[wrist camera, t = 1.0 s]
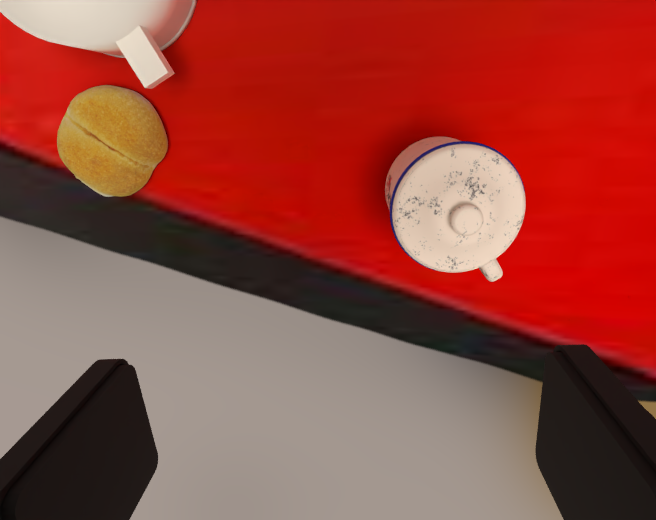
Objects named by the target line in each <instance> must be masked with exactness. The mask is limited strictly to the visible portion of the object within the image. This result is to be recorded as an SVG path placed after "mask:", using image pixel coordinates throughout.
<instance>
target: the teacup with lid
mask: <svg viewBox="0 0 656 520" xmlns="http://www.w3.org/2000/svg"><path fill="white" fill-rule="evenodd" d="M385 197H386V202H387V205H388V208H389V211H390V221H391V226H392V230H393V233H394V236H395V238H396V240H397V242H398V243H399V245H400V246H401V248H402V249H403V250H404V251H405V253H406V254H407V255H408V256H410V257H411V258H412V259H413V260H415V261H416V262H417V263H419V264H421V265H423V266H425V267H427V268H430V269H433V270H437V271H442V272H465V271H470V270H474V269H477V268H479V269H480V270H481V272H482V273H483V274H484V276H485V277H486V278H487V279H488V280H489V281H491V282H493V281H496V280H497V279H499V278H501V277H502V275H503V272H502V269H501V267H500V265H499V263H498V262H497V260H496V258H497V257H498V256H500V255H501V254H502V253H503V252H504V251H505V250H506V249H507V248H508V247H509V246H510V245H511V243H512V242H513V241H514V239H515V237H516V236H517V234H518V232H519V230H520V228H521V225H522V222H523V219H524V214H525V205H526V203H525V191H524V186H523V183H522V180H521V177H520V175H519V173H518V171H517V170H516V168H515V167H514V165H513V164H512V163H511V162H510V161H509V160H508V159H507V158H506V157H505V156H504V155H503V154H501V153H500V152H498V151H497V150H495V149H493V148H491V147H489V146H486V145H484V144H480V143H476V142H469V141H460V140H457V139H454V138H450V137H442V136H438V137H429V138H425V139H422V140H420V141H417V142H415V143H413V144H412V145H410V146H409V147H407V148H406V149H405V150H404V151H402V152H401V153H400V154H399V156H398V157H397V158H396V159H395V161H394V162H393V164H392V166H391V168H390V170H389V172H388V175H387V179H386V184H385Z"/></svg>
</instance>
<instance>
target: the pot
mask: <svg viewBox="0 0 656 520" xmlns="http://www.w3.org/2000/svg"><path fill="white" fill-rule="evenodd" d="M196 4H197V0H0V12H1V13H2V14H3V15H4V16H6V17H7V18H8V19H9V20H10V21H11V22H13V23H14V24H15V25H17V26H18V27H20V28H21V29H23V30H24V31H26V32H28V33H30V34H32V35H34V36H36V37H38V38H40V39H43V40H46V41H48V42H53V43H57V44H61V45H66V46H71V47H76V48H81V49H86V50H91V51H96V52H101V53H104V54H107V55H111V56H115V57H120V58H126V59H127V61H128V62H129V64H130V66H131V67H132V69H133V70H134V72H135V73H136V75H137V76H138V78H139V80H140V81H141V83H142V84H143V86H144V87H145V88H154V87H155V86H157V85H158V84H160V83H161V82H163V81H164V80H166V79H167V78H169V77H170V76H172V75H173V74H175V73H174V71H173V70H172V68H171V67H170V65H169V63H168V62H167V60H166V58H165V57H164V55H163V54H162V52H161V51H163V50H164V49H166V48H168V47H169V46H170V45H172V44H173V43H174V42H175V41H176V40H177V39H178V38H179V37H180V36H181V35H182V33H183V32H184V31H185V29H186V28H187V26H188V24H189V22H190V20H191V18H192V16H193V13H194V11H195V8H196Z"/></svg>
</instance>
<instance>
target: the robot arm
mask: <svg viewBox="0 0 656 520" xmlns="http://www.w3.org/2000/svg"><path fill="white" fill-rule="evenodd" d="M536 459H537V463H538V466H539V469H540V471H541V473H542V475H543V477H544V479H545V481H546V484H547V485H548V488H549V490H550V492H551V494H552V496H553V498H554V500H555V502H556V504H557V506H558V509H559V511H560V513H561V515H562V517H563V519H564V520H656V419H655V418H654V417H653V416H652V415H651V414H650V413H649V412H648V411H647V410H646V409H644V407H643V406H642V405H641V404H640V403H639V402H638V401H637V400H636V398H635V397H634V396H633V395H632V394H631V393H630V392H629V391H628V390H627V388H626V387H625V386H624V385H623V384H622V383H621V382H620V381H619V380H618V378H617V377H616V376H615V375H614V374H613V373H612V372H611V371H610V370H609V369H608V367H607V366H606V365H605V364H604V363H603V362H602V361H601V360H600V359H599V357H598V356H597V355H596V354H595V353H594V352H593V351H592V350H591V349H590V347H588V346H587V345H558V346H556V347H555V349H554V352H549V353H547V355H546V358H545V367H544V376H543V386H542V395H541V405H540V413H539V422H538V432H537V441H536ZM157 464H158V453H157V449H156V446H155V442H154V438H153V435H152V430H151V427H150V423H149V419H148V415H147V412H146V408H145V404H144V401H143V397H142V393H141V389H140V385H139V382H138V378H137V374H136V371H135V368H134V367H133V366H132V365H129V364H128V363H127V361H126V360H124V359H105V360H98V361H96V362H95V363H94V364H93V365H92V366H91V367H90V368H89V369H88V370H87V371H86V372H85V373H84V374H83V375H82V376H81V377H80V378H79V379H78V380H77V381H76V382H75V383H74V384H73V385H72V386H71V387H70V388H69V389H68V390H67V391H66V392H65V393H64V394H63V395H62V396H61V397H60V399H59V400H58V401H57V402H56V403H55V404H54V405H53V406H52V407H51V408H50V409H49V410H48V411H47V412H46V413H45V414H44V415H43V416H42V417H41V418H40V419H39V420H38V421H37V422H36V423H35V424H34V425H33V426H32V427H31V428H30V429H29V430H28V431H27V432H26V433H25V434H24V435H23V436H22V437H21V439H20V440H19V441H18V442H17V443H16V444H15V445H14V446H13V447H12V448H11V449H10V450H9V451H8V452H7V453H6V454H5V455H4V456H3V457H2V458H1V459H0V520H129V519H130V517H131V515H132V514H133V512H134V510H135V508H136V506H137V504H138V502H139V501H140V499H141V497H142V495H143V493H144V491H145V489H146V488H147V486H148V484H149V482H150V480H151V478H152V476H153V474H154V473H155V470H156V468H157Z"/></svg>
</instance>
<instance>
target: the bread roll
mask: <svg viewBox="0 0 656 520" xmlns="http://www.w3.org/2000/svg"><path fill="white" fill-rule="evenodd" d="M57 146H58V151H59V155H60V158H61V159H62V161H63V162H64V164H65V165H66V166H67V167H68V169H69V170H70V171H71V172H72V173H73V174H74V175H75V177H76V178H77V179H80V180H81V181H82V182H83V183H84V184H86V185H87V186H88V187H90V188H91V189H93V190H94V191H95V192H97V193H99V194H101V195H103V196H106V197H111V196H128V195H131V194H133V193H135V192H137V191H138V190H140V189H141V188H142V187H143V186H144V185H145V184H146V183H147V182H148V180H149V178H150V176H151V175H152V172H153V170H154V169H155V167H156V165H157V164H158V163H159V162H161V160H162V159H163V158H164V156H165V154H166V152H167V149H168V140H167V135H166V132H165V129H164V126H163V124H162V121H161V119H160V117H159V115H158V113H157V112H156V110H155V109H154V107H153V106H152V104H151V103H150V102H149V101H148V100H147V99H146V98H144V97H143V96H142V95H141V94H139V93H137V92H135V91H133V90H130V89H126V88H122V87H117V86H112V85H101V86H96V87H92V88H89V89H87V90H85V91H84V92H82V93H80V94H78V95H77V96H76V97H75V98H74V99H73V100H72V101H71V102H70V105H69V107H68V109H67V111H66V114H65V116H64V118H63V120H62V122H61V124H60V127H59V130H58V136H57Z"/></svg>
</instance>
